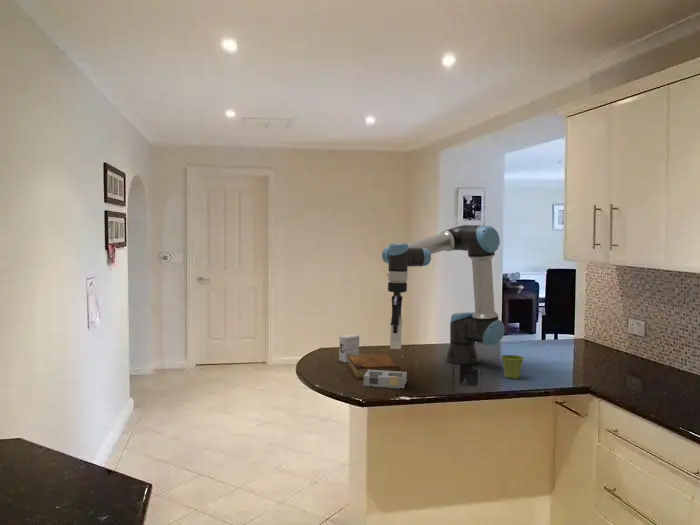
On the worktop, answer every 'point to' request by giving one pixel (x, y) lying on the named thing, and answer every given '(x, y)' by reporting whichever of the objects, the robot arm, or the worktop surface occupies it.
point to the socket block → (385, 379)
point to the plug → (398, 344)
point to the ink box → (348, 347)
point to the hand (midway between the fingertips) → (395, 340)
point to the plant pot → (512, 365)
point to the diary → (370, 364)
